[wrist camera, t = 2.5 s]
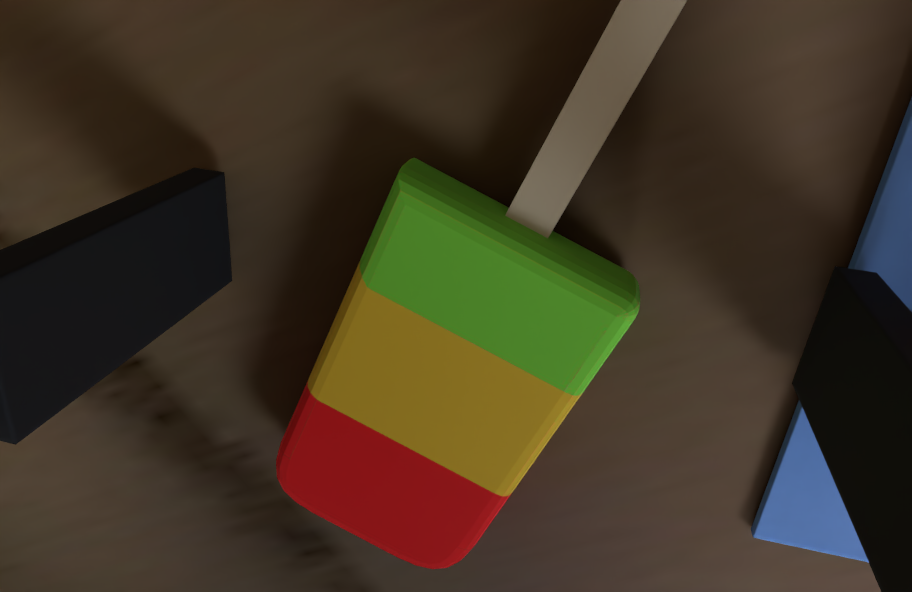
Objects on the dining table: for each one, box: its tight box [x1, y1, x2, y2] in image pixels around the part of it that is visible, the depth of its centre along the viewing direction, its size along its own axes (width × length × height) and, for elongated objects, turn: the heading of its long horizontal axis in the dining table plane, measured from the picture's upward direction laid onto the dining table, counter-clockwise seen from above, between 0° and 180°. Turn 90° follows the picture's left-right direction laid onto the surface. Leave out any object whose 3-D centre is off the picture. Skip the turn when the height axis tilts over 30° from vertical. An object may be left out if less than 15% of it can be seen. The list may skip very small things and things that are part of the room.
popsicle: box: [276, 0, 687, 569], centre depth 14 cm, size 6×15×2 cm, turn 154°
